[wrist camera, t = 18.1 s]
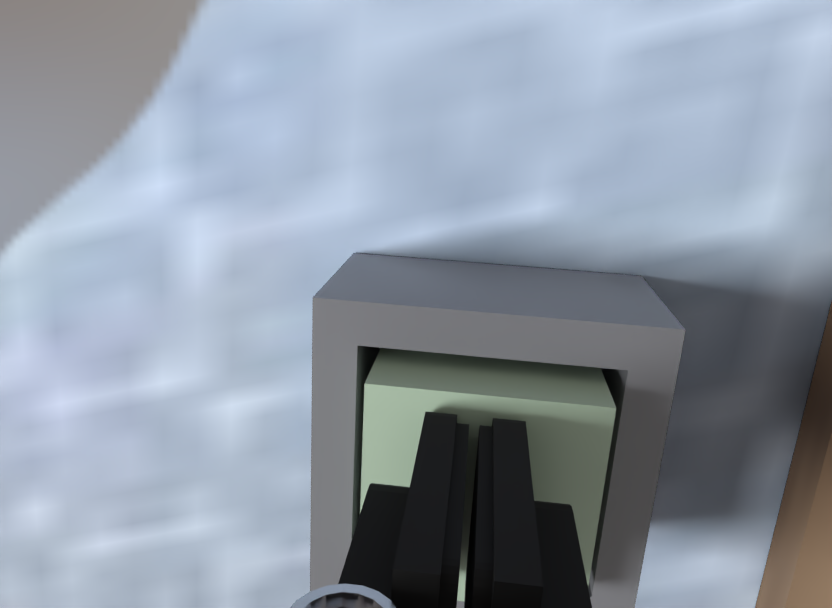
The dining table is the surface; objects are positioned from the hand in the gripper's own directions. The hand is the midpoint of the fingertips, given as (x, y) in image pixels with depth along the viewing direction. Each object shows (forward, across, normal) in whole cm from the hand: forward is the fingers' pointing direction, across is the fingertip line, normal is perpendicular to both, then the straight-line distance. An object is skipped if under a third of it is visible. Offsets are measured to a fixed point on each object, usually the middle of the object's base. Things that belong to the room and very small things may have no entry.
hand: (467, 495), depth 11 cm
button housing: (+4, 0, 0) cm, 4 cm away
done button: (+2, 0, 0) cm, 3 cm away
